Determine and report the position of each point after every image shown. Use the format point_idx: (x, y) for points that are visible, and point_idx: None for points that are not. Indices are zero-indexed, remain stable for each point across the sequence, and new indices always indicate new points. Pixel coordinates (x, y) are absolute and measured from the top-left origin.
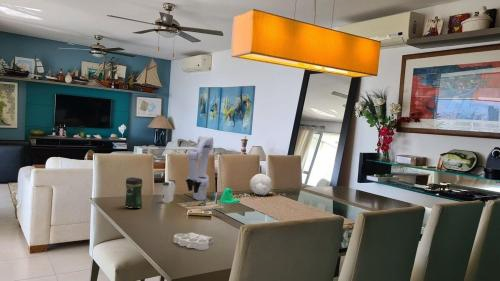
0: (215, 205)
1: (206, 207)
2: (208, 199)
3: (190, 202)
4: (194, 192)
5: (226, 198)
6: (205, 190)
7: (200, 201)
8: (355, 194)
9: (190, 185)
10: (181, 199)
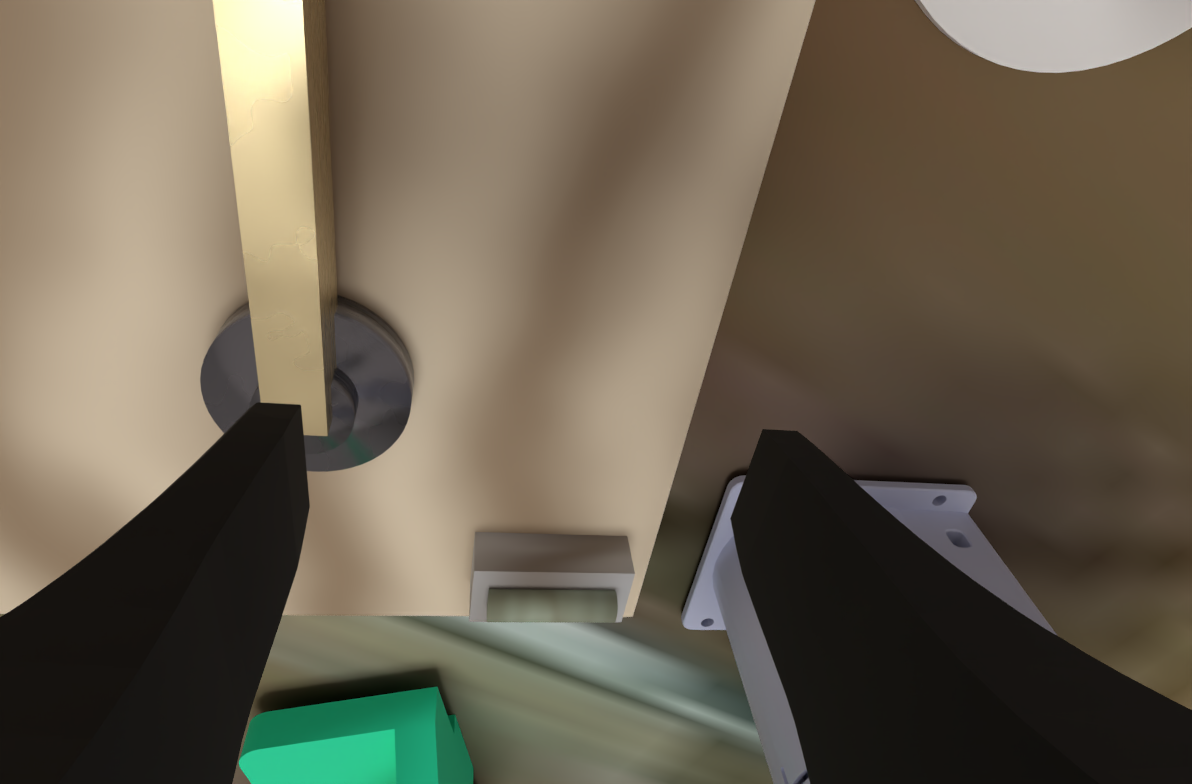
0: None
1: (31, 344)
2: (487, 615)
3: (220, 50)
4: (249, 413)
5: None
6: (772, 779)
7: (262, 384)
8: None
9: (837, 647)
10: (1155, 363)
